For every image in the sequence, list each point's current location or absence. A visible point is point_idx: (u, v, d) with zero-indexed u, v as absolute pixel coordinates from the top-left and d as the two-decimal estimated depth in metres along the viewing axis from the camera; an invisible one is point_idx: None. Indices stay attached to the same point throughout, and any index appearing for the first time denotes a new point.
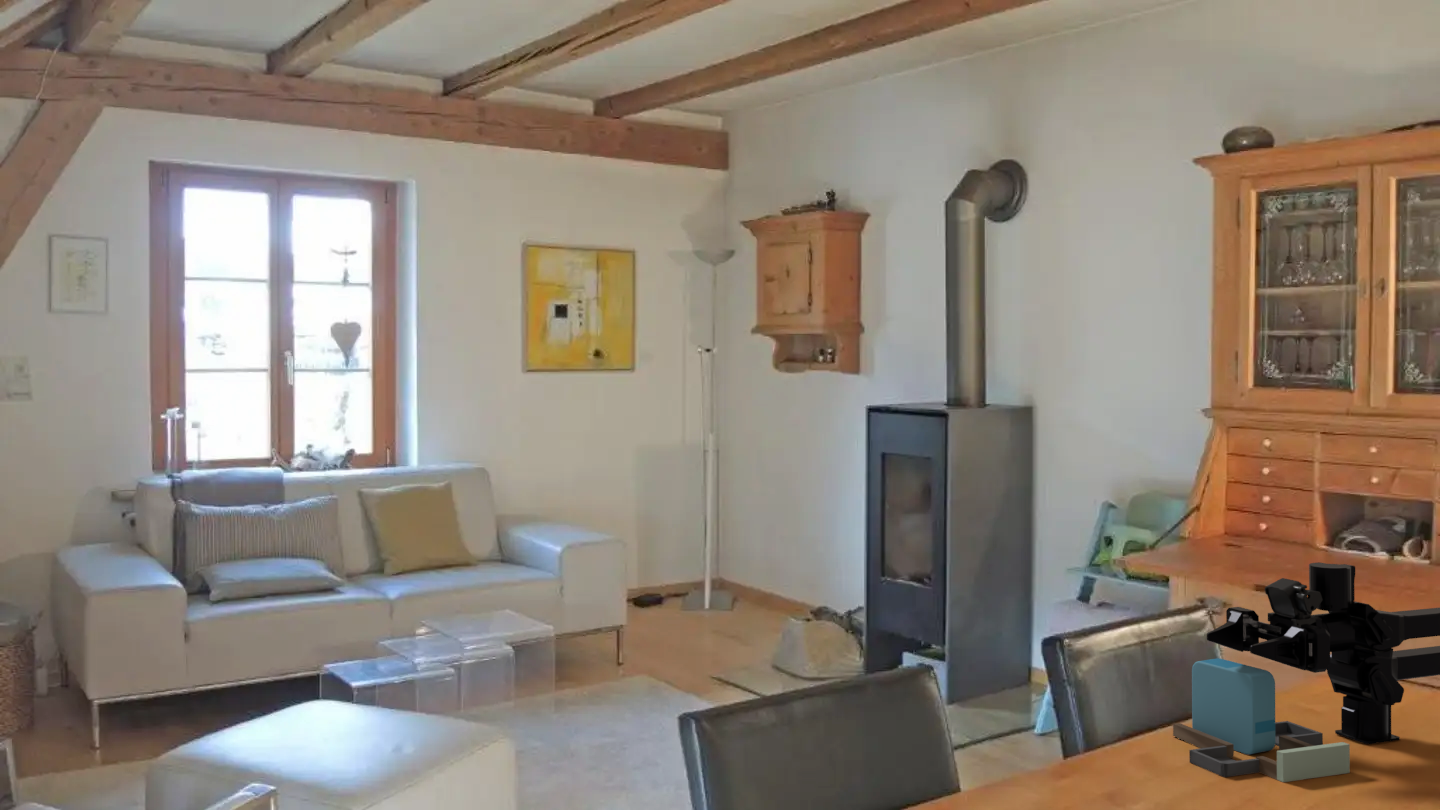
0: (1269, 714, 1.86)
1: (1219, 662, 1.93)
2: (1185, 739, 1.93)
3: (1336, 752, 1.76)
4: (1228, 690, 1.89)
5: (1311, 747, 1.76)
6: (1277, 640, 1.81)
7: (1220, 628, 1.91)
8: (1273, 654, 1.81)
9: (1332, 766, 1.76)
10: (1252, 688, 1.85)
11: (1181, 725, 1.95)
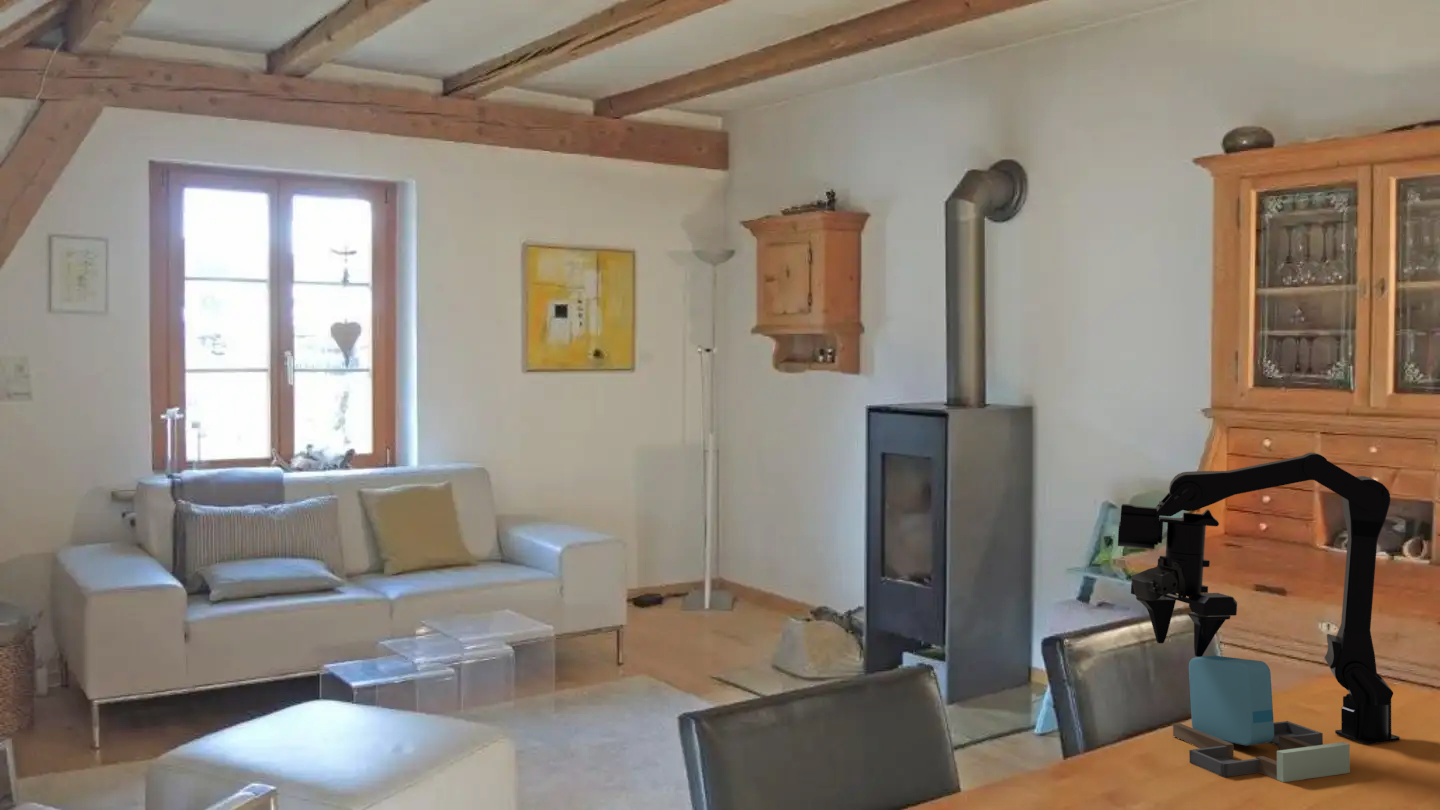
0: (1266, 703, 1.87)
1: (1215, 657, 1.95)
2: (1185, 739, 1.93)
3: (1336, 752, 1.76)
4: (1225, 682, 1.90)
5: (1311, 747, 1.76)
6: (1198, 634, 1.96)
7: (1155, 627, 2.06)
8: (1208, 638, 1.96)
9: (1332, 766, 1.76)
10: (1247, 676, 1.86)
11: (1181, 725, 1.95)
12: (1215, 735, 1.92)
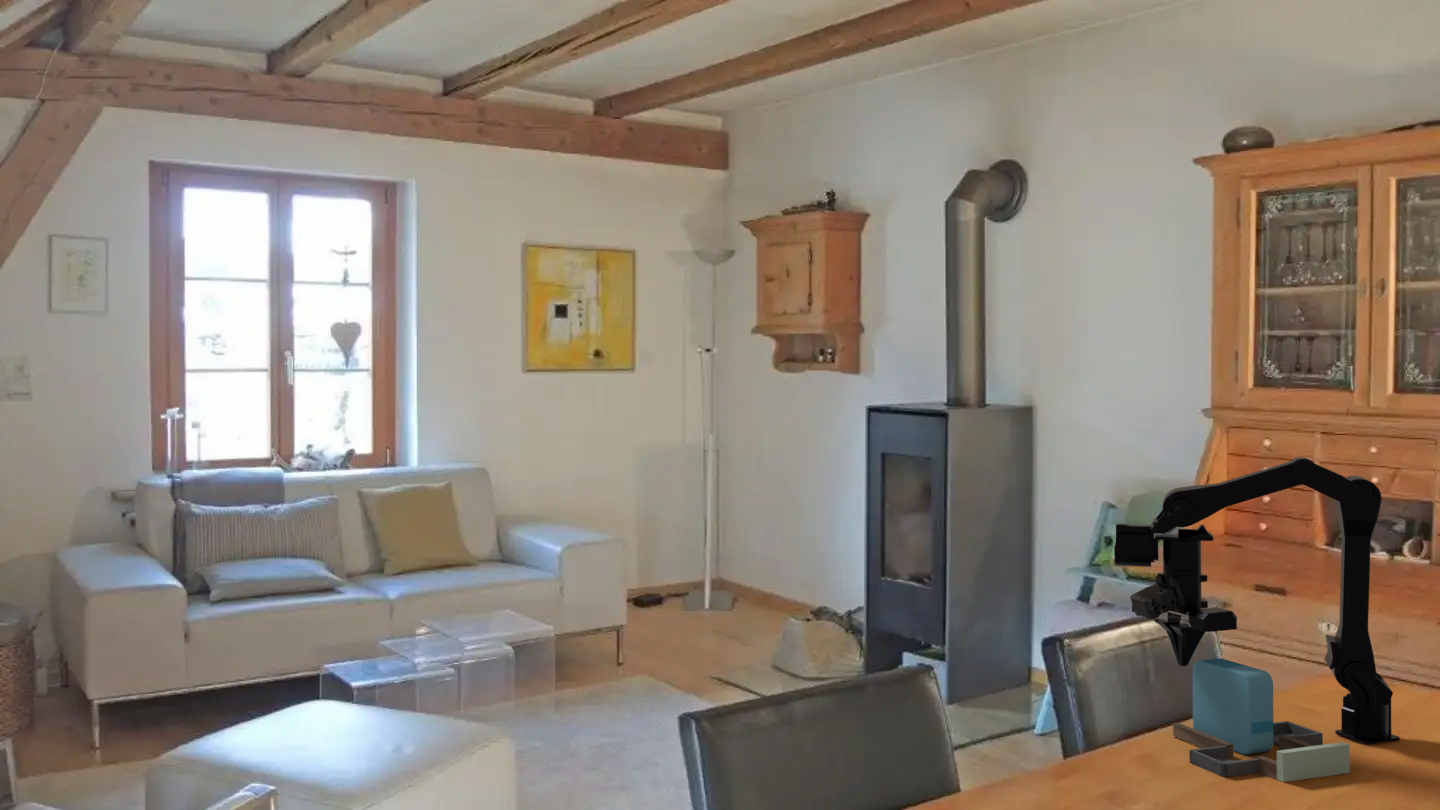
0: (1267, 714, 1.86)
1: (1219, 662, 1.93)
2: (1185, 739, 1.93)
3: (1336, 752, 1.76)
4: (1226, 690, 1.89)
5: (1311, 747, 1.76)
6: (1181, 644, 2.00)
7: (1175, 649, 2.02)
8: (1192, 648, 2.01)
9: (1332, 766, 1.76)
10: (1248, 688, 1.85)
11: (1181, 725, 1.95)
12: None
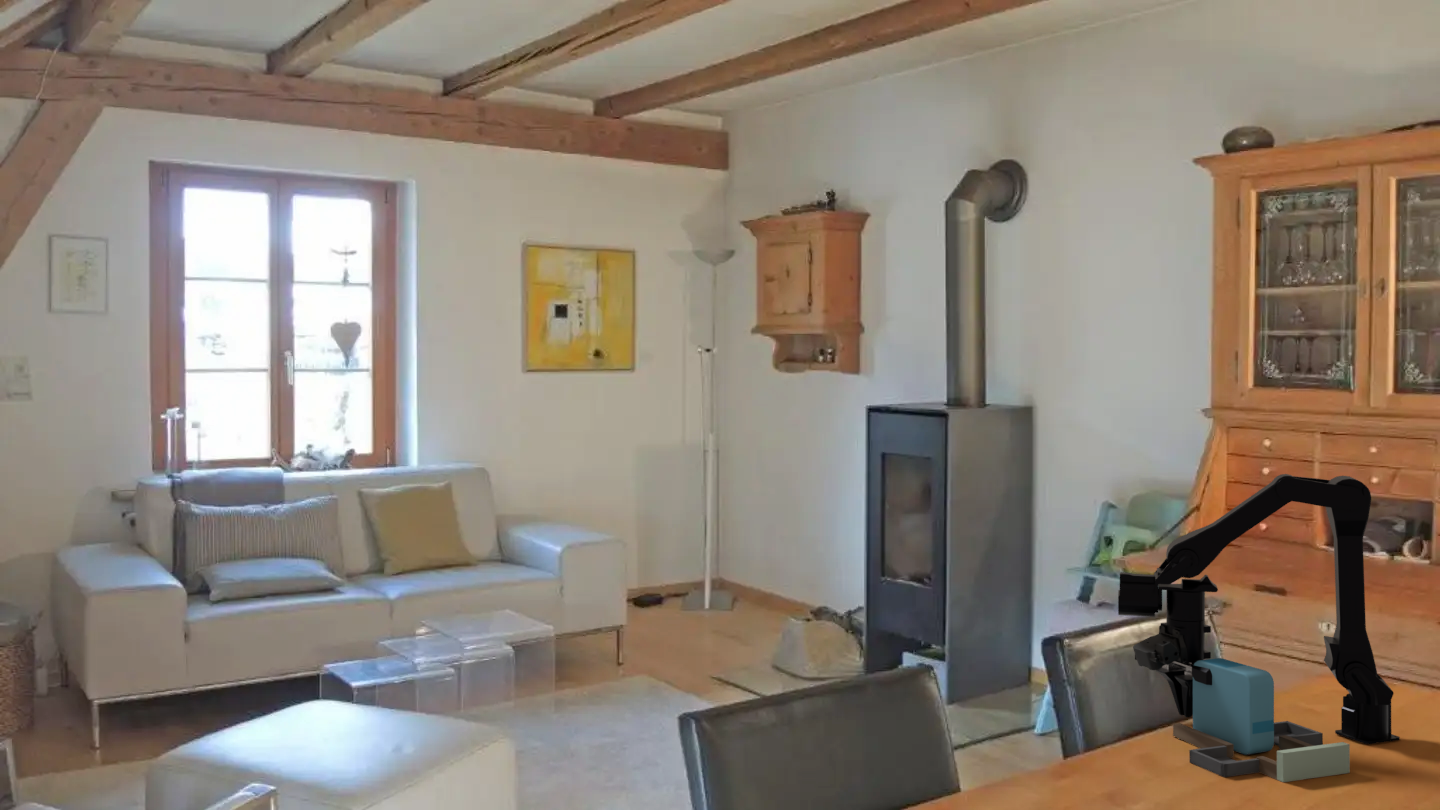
0: (1267, 714, 1.86)
1: (1219, 662, 1.93)
2: (1185, 739, 1.93)
3: (1336, 752, 1.76)
4: (1227, 689, 1.89)
5: (1311, 747, 1.76)
6: (1186, 695, 1.99)
7: (1176, 698, 2.02)
8: None
9: (1332, 766, 1.76)
10: (1249, 688, 1.85)
11: (1181, 725, 1.95)
12: None
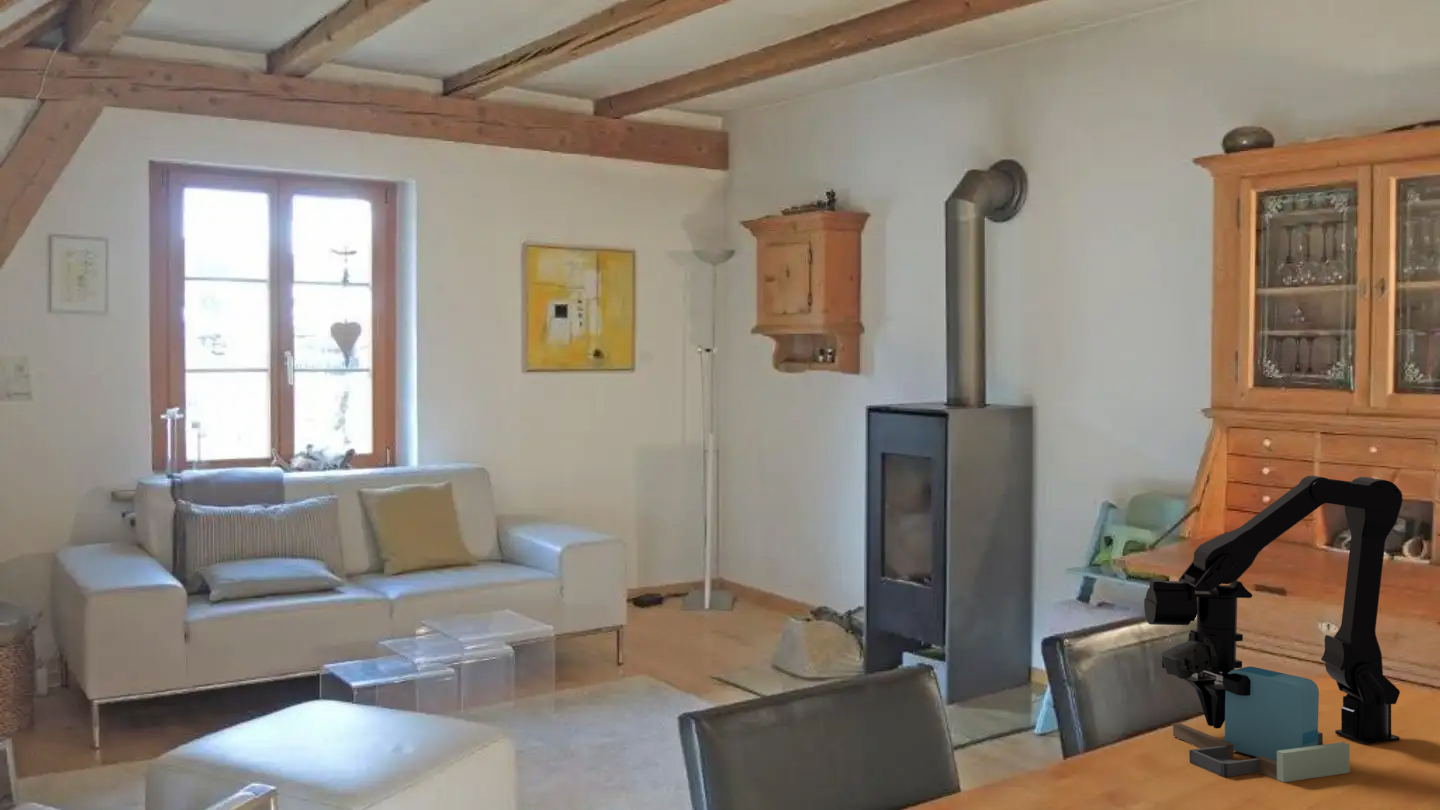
0: (1313, 724, 1.80)
1: (1256, 670, 1.86)
2: (1185, 739, 1.93)
3: (1336, 752, 1.76)
4: (1271, 699, 1.82)
5: (1311, 747, 1.76)
6: (1215, 706, 1.92)
7: (1205, 709, 1.95)
8: None
9: (1332, 766, 1.76)
10: (1300, 698, 1.78)
11: (1181, 725, 1.95)
12: (1253, 752, 1.84)
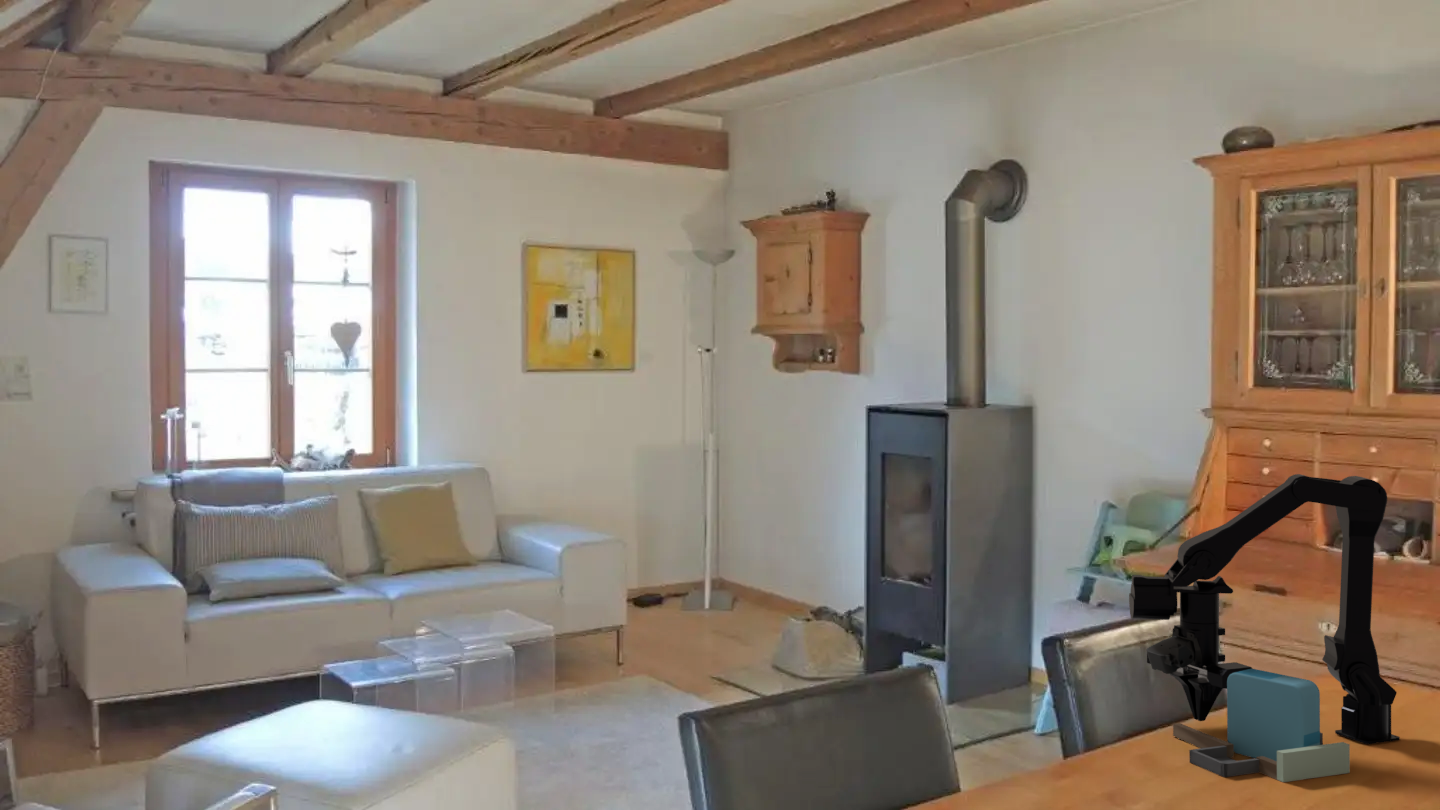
0: (1315, 725, 1.80)
1: (1256, 673, 1.86)
2: (1185, 739, 1.93)
3: (1336, 752, 1.76)
4: (1271, 702, 1.82)
5: (1311, 747, 1.76)
6: (1199, 699, 1.96)
7: (1191, 703, 1.98)
8: (1210, 702, 1.97)
9: (1332, 766, 1.76)
10: (1300, 699, 1.78)
11: (1181, 725, 1.95)
12: (1256, 754, 1.84)
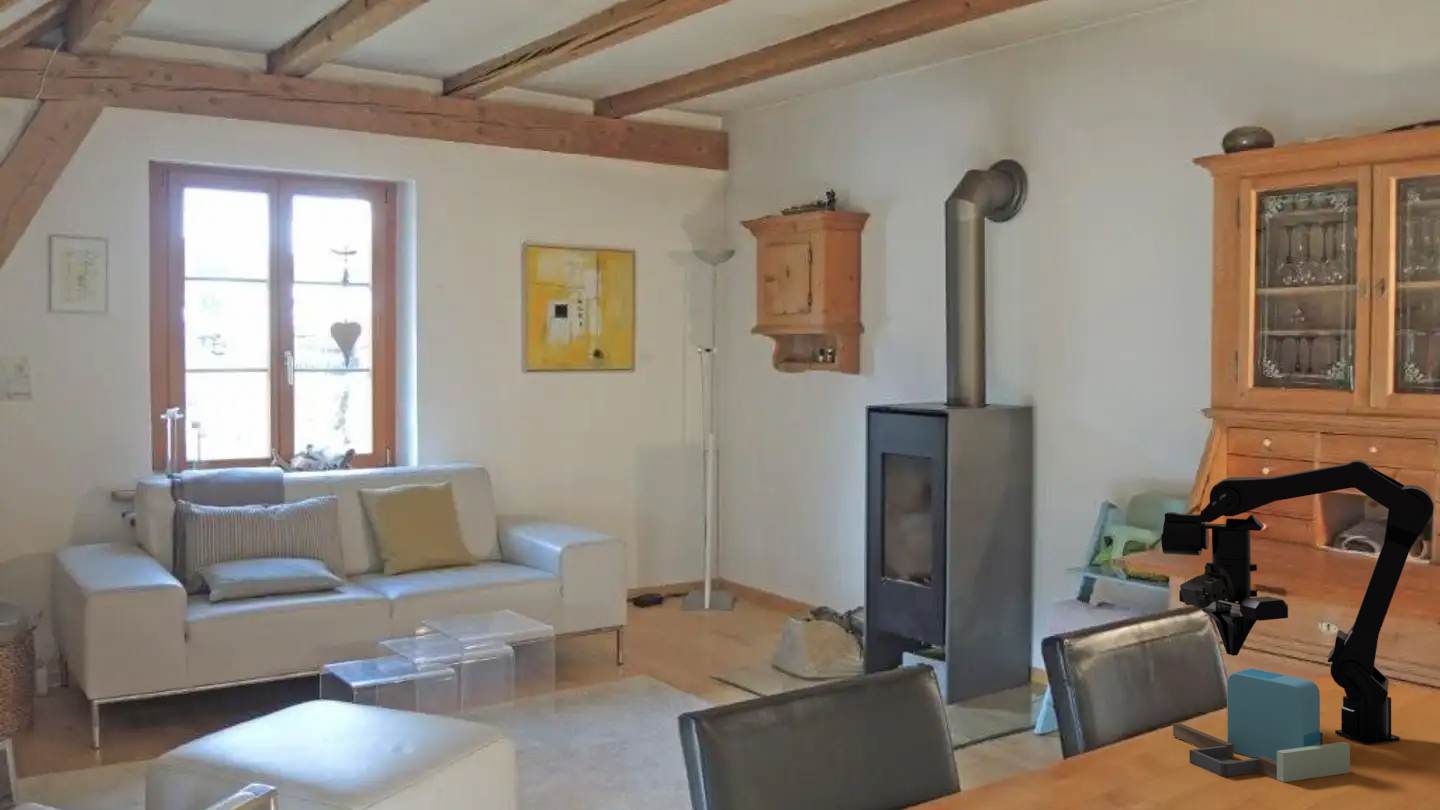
0: (1315, 725, 1.80)
1: (1256, 673, 1.86)
2: (1185, 739, 1.93)
3: (1336, 752, 1.76)
4: (1271, 702, 1.82)
5: (1311, 747, 1.76)
6: (1232, 633, 2.01)
7: (1223, 638, 2.03)
8: (1242, 637, 2.01)
9: (1332, 766, 1.76)
10: (1300, 699, 1.78)
11: (1181, 725, 1.95)
12: (1256, 754, 1.84)
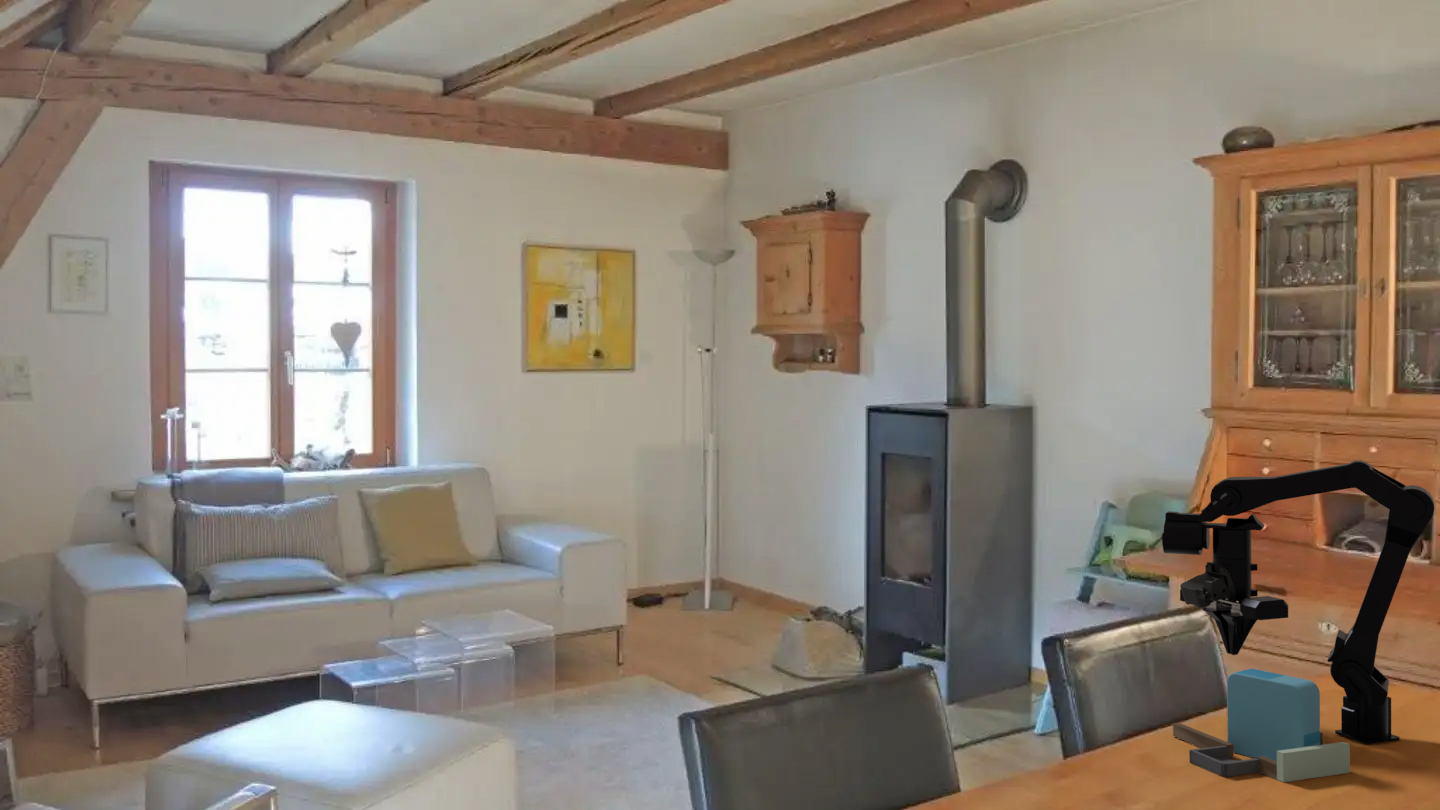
0: (1315, 725, 1.80)
1: (1256, 673, 1.86)
2: (1185, 739, 1.93)
3: (1336, 752, 1.76)
4: (1271, 702, 1.82)
5: (1311, 747, 1.76)
6: (1232, 633, 2.01)
7: (1224, 637, 2.03)
8: (1242, 637, 2.01)
9: (1332, 766, 1.76)
10: (1300, 699, 1.78)
11: (1181, 725, 1.95)
12: (1256, 754, 1.84)
